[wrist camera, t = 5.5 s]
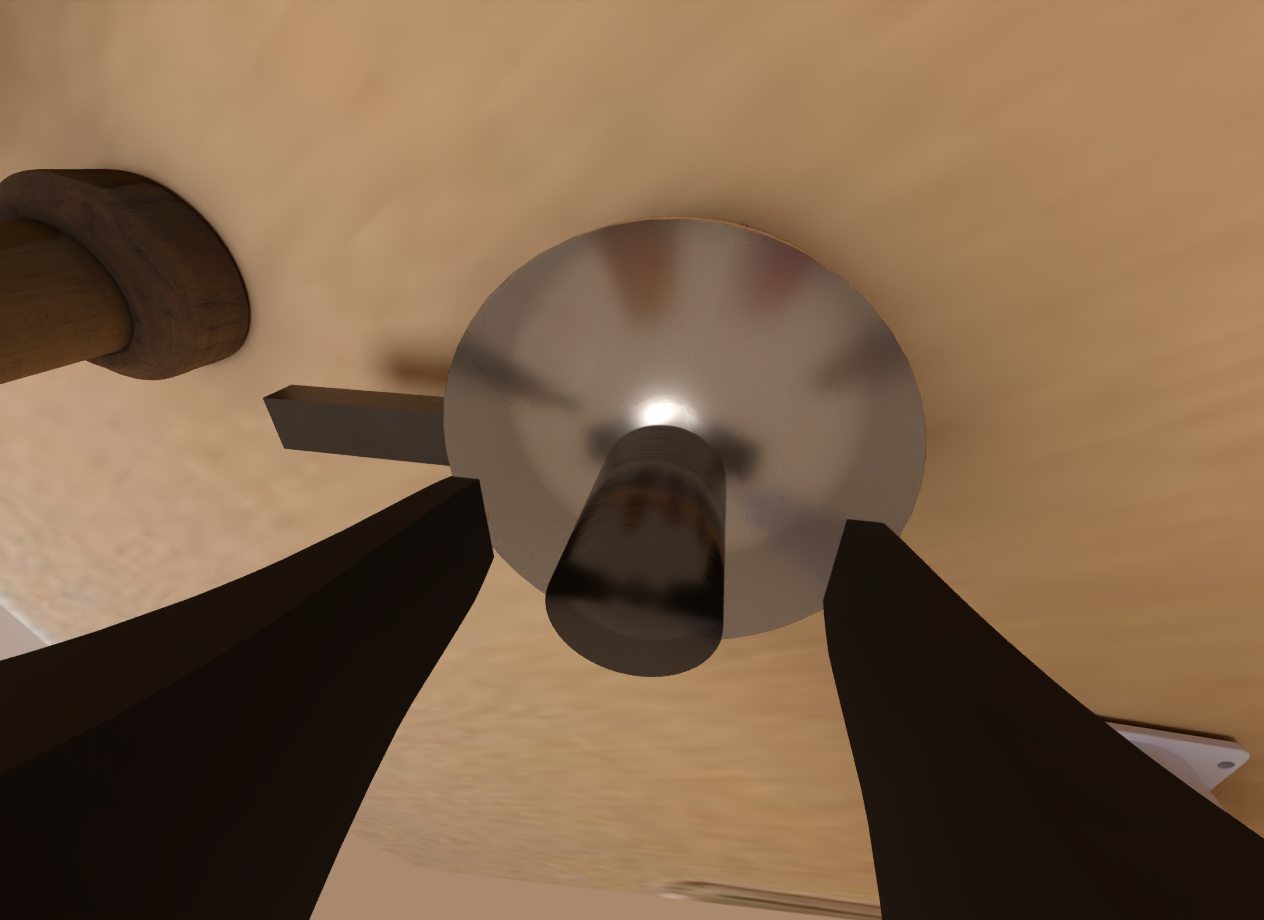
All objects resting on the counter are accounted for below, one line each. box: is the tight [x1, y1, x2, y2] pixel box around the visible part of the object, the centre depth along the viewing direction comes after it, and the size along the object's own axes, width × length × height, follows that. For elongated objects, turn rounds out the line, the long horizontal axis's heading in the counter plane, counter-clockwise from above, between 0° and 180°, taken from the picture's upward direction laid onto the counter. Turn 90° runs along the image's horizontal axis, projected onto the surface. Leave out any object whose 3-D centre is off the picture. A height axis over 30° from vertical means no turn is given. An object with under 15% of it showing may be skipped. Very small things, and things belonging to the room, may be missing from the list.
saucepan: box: [263, 224, 750, 466], centre depth 14 cm, size 10×16×5 cm, turn 90°
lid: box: [443, 216, 926, 677], centre depth 10 cm, size 11×11×6 cm
